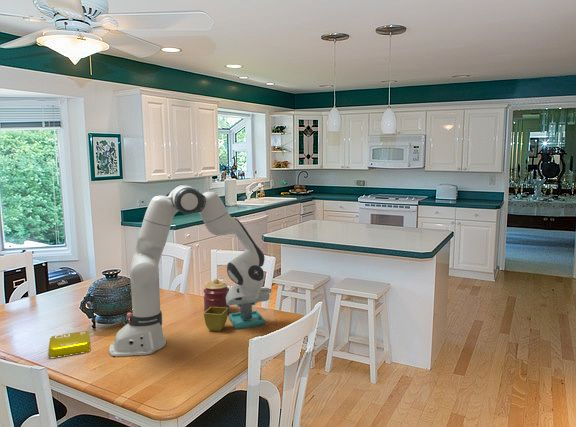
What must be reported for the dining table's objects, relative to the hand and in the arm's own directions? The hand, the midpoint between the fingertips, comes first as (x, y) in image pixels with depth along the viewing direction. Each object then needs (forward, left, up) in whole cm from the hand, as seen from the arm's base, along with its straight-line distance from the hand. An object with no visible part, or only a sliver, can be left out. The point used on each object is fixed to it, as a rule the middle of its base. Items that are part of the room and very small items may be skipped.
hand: (245, 304), depth 214 cm
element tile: (-76, -4, -9) cm, 76 cm away
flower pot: (-15, -5, -9) cm, 18 cm away
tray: (0, -1, -8) cm, 8 cm away
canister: (-11, +17, -9) cm, 22 cm away
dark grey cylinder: (0, -1, -6) cm, 6 cm away
